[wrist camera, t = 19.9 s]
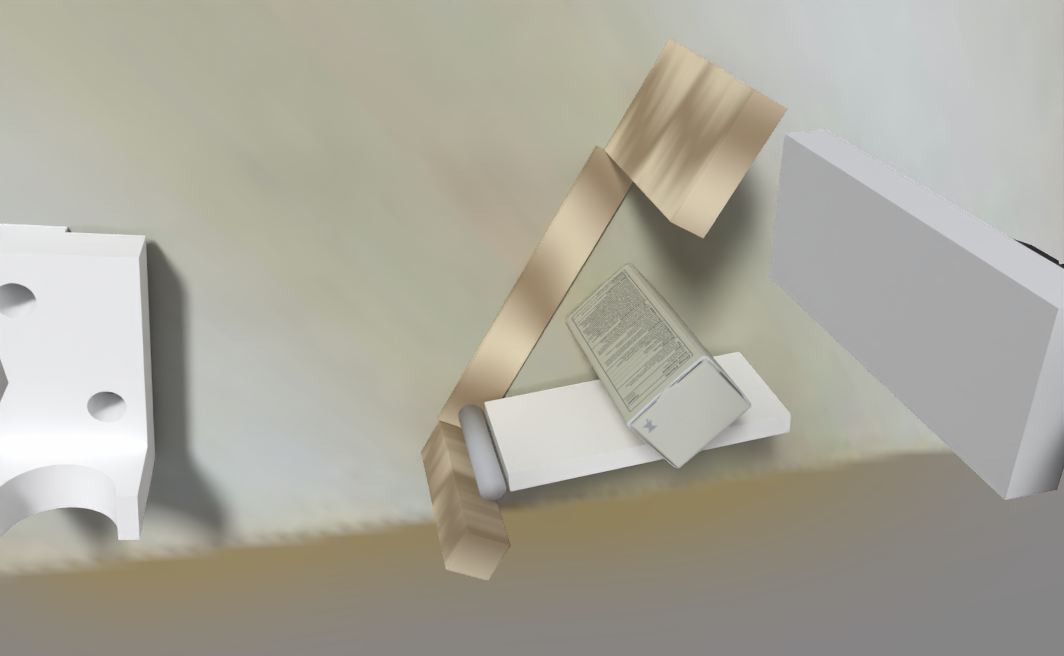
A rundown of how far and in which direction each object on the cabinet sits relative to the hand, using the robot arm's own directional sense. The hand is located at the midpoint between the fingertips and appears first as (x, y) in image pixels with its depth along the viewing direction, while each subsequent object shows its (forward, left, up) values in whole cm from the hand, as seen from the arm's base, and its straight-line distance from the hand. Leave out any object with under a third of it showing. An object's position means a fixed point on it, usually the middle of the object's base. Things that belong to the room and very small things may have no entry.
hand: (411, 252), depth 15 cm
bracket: (-4, -22, -32) cm, 39 cm away
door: (+24, -14, -31) cm, 41 cm away
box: (+22, -9, -32) cm, 40 cm away
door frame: (+17, -9, -32) cm, 37 cm away
